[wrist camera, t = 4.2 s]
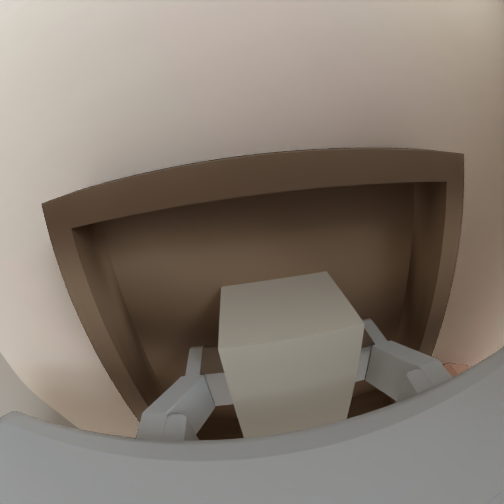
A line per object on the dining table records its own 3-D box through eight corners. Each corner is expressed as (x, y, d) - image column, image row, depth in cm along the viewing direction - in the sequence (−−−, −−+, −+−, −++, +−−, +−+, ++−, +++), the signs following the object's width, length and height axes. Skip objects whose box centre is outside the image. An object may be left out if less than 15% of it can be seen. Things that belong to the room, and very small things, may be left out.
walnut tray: (84, 188, 9) (41, 203, 6) (416, 148, 10) (463, 154, 7) (171, 417, 14) (165, 455, 11) (387, 382, 15) (405, 414, 12)
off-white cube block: (221, 286, 10) (217, 349, 7) (326, 271, 10) (364, 324, 7) (240, 378, 12) (244, 439, 9) (324, 364, 12) (345, 420, 9)
